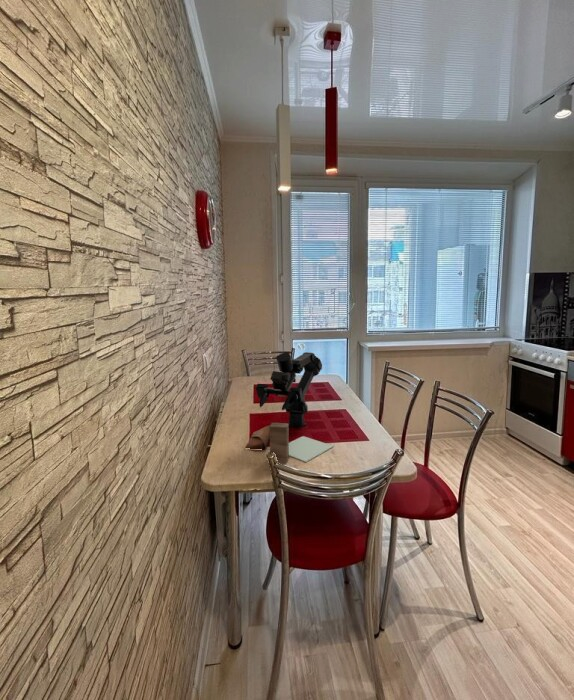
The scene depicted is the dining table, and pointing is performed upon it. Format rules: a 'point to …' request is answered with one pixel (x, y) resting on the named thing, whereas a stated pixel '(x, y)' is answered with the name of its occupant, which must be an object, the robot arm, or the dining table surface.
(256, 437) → the sunglasses case
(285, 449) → the brown wooden block
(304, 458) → the mat
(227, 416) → the dining table surface
